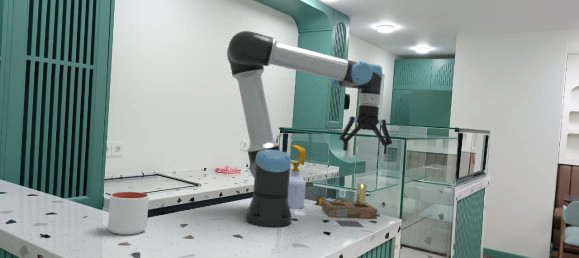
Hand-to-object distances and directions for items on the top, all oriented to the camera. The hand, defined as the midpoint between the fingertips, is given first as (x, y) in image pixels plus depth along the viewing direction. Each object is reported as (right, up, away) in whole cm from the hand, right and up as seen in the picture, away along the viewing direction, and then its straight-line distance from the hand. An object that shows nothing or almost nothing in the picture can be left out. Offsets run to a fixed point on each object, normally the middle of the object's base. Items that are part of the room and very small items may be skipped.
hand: (363, 161), depth 157 cm
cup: (-73, -16, -43) cm, 87 cm away
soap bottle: (-27, -19, +8) cm, 34 cm away
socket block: (-6, -21, 0) cm, 21 cm away
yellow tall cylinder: (-2, -21, 0) cm, 21 cm away
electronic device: (-9, -21, +14) cm, 27 cm away
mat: (-8, -21, -16) cm, 27 cm away
